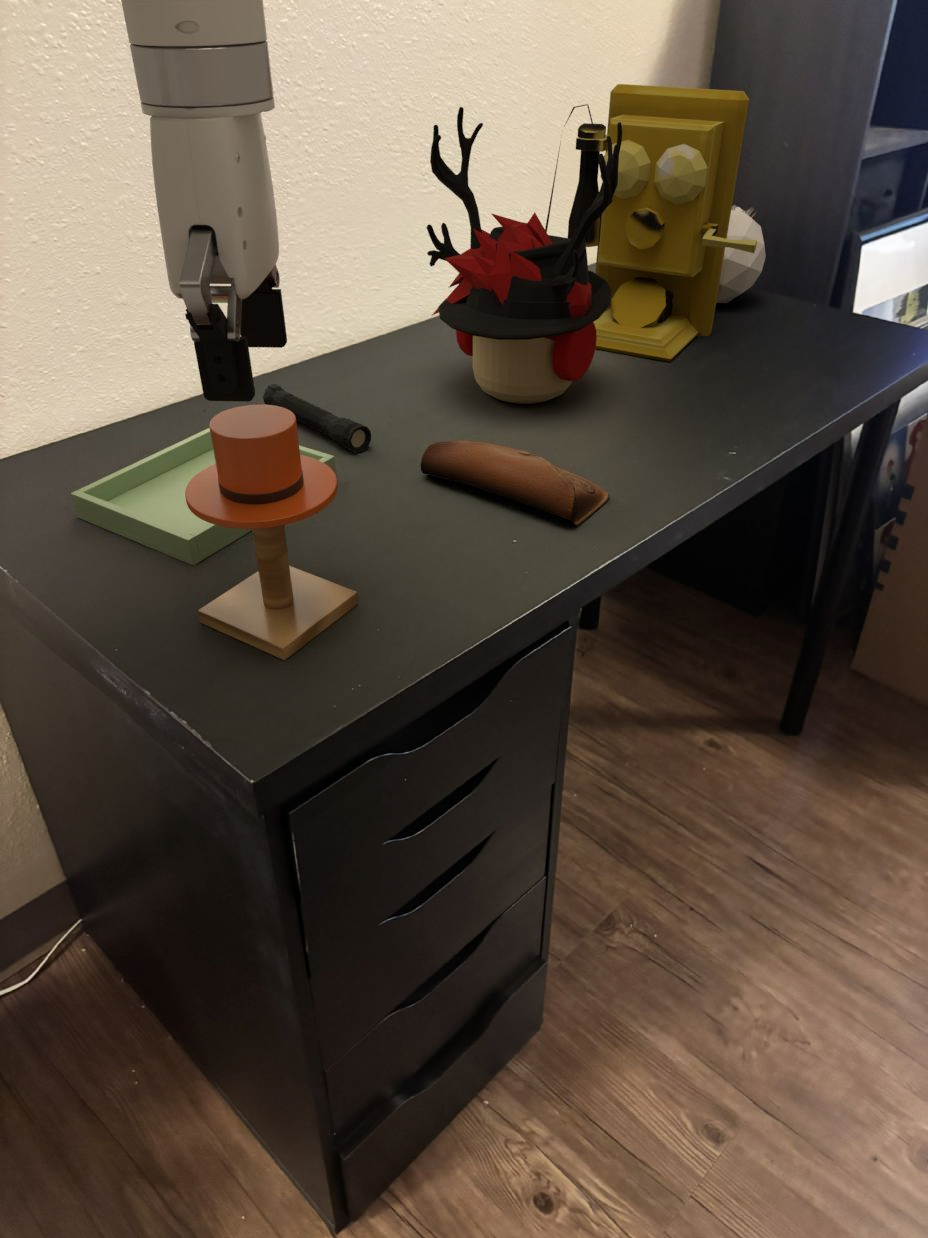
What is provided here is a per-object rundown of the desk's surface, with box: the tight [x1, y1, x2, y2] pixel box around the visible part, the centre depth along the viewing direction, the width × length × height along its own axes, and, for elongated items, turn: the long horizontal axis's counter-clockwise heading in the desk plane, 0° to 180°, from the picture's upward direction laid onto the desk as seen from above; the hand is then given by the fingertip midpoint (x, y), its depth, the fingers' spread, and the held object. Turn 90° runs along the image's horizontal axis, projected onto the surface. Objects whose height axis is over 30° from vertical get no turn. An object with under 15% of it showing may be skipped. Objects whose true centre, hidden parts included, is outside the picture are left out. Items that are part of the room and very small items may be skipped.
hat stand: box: [197, 525, 359, 661], centre depth 70 cm, size 9×9×11 cm
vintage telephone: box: [544, 83, 757, 363], centre depth 119 cm, size 31×14×30 cm, turn 61°
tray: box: [70, 427, 337, 566], centre depth 89 cm, size 20×16×3 cm
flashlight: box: [262, 383, 372, 454], centre depth 102 cm, size 3×16×3 cm, turn 44°
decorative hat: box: [426, 106, 622, 405], centre depth 103 cm, size 23×21×30 cm
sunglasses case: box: [420, 440, 610, 526], centre depth 90 cm, size 18×7×7 cm
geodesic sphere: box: [716, 204, 767, 304], centre depth 138 cm, size 15×14×14 cm
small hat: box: [185, 403, 339, 529], centre depth 66 cm, size 11×11×6 cm
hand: (248, 370), depth 62 cm, fingers open, 9 cm apart
